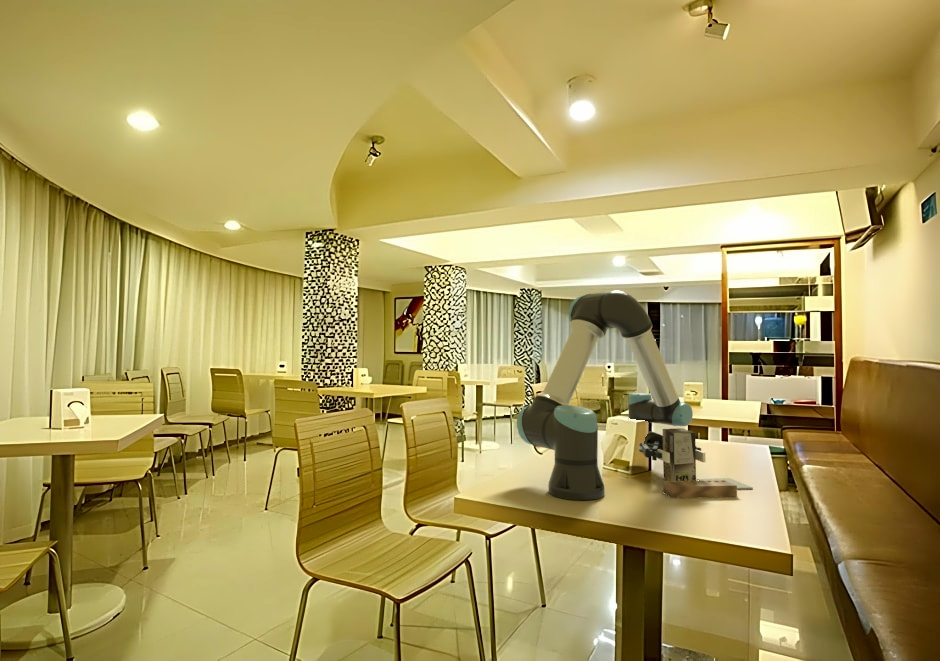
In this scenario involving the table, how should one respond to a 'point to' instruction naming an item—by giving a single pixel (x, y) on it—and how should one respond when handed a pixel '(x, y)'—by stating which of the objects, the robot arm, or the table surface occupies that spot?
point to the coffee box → (679, 455)
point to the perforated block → (699, 489)
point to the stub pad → (739, 484)
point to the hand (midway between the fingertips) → (686, 457)
